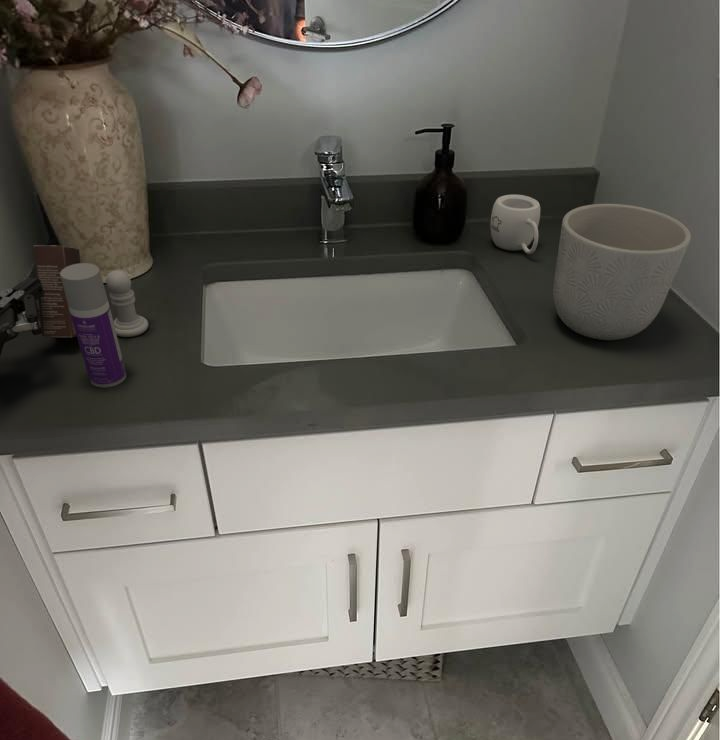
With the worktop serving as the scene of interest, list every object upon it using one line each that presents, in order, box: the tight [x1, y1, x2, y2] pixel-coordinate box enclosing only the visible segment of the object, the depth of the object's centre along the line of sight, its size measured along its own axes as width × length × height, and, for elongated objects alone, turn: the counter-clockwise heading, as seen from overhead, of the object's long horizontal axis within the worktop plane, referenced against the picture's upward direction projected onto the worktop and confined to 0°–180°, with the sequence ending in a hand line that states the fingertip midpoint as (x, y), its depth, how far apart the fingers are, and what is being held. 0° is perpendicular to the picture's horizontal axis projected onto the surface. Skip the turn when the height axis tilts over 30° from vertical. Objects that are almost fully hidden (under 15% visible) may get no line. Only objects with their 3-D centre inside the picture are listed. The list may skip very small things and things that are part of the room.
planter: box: [552, 203, 692, 341], centre depth 100 cm, size 17×17×15 cm
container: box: [60, 262, 127, 389], centre depth 87 cm, size 5×5×15 cm
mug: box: [489, 194, 541, 255], centre depth 122 cm, size 12×8×8 cm
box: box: [32, 244, 81, 339], centre depth 95 cm, size 6×4×12 cm
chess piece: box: [105, 269, 149, 338], centre depth 98 cm, size 5×5×9 cm
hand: (36, 284), depth 92 cm, fingers closed
